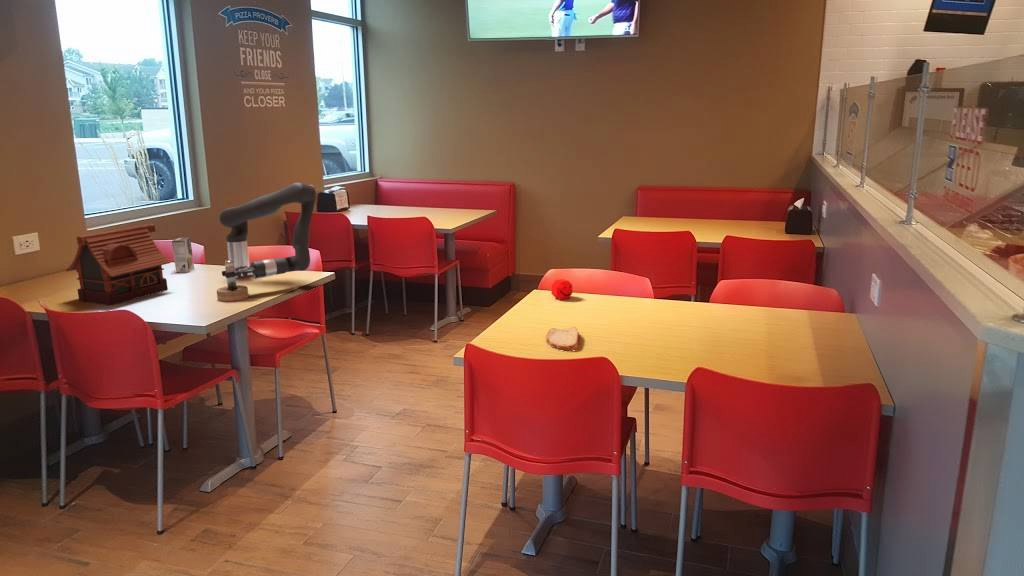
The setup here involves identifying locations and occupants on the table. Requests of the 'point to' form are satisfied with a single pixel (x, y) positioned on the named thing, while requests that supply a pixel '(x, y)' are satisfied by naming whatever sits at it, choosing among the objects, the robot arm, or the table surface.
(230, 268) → the grey tall cylinder
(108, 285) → the house
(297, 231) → the robot arm
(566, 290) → the ball
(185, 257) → the coffee box
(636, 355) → the table surface
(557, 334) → the bread slice
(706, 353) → the table surface
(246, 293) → the bead
